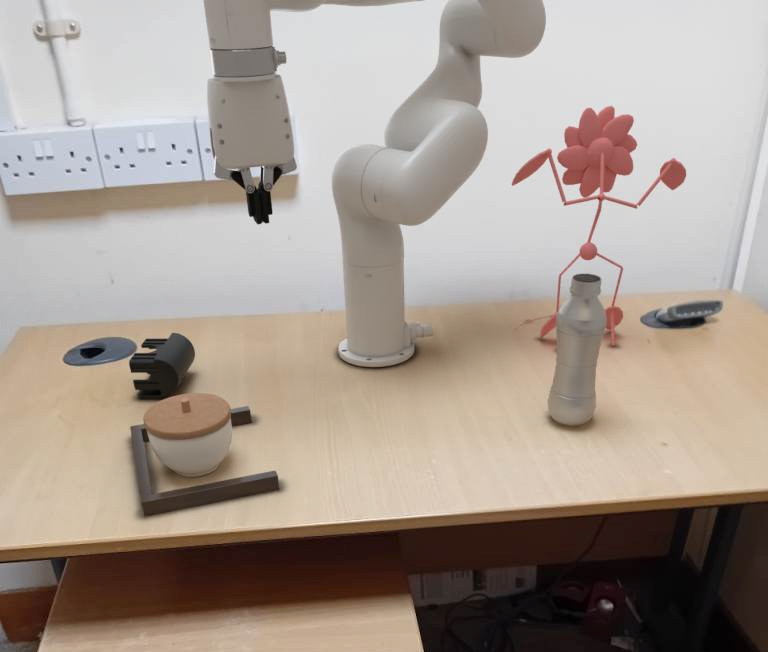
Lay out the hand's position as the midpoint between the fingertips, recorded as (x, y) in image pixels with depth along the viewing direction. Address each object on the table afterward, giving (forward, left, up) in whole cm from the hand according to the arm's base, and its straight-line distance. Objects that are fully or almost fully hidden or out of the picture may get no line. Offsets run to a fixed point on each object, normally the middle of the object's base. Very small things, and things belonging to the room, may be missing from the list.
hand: (261, 221), depth 106 cm
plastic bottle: (-36, +24, -25) cm, 50 cm away
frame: (+14, +17, -25) cm, 33 cm away
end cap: (+16, -8, -25) cm, 31 cm away
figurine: (-52, -3, -25) cm, 58 cm away
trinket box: (+15, +17, -25) cm, 34 cm away
